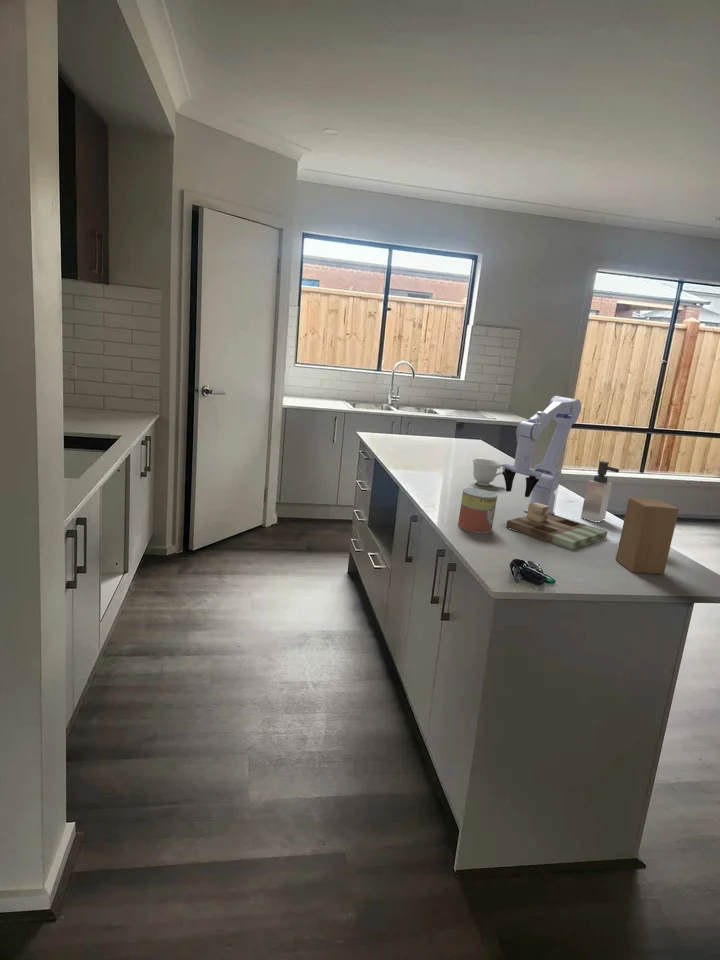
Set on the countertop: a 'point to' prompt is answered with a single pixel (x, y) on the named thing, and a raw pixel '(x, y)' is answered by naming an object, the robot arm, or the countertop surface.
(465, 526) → the canned food
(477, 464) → the teacup
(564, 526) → the trap board
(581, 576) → the countertop surface
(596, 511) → the soap dispenser
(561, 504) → the countertop surface
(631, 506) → the wooden block
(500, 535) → the countertop surface
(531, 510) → the maple cube
